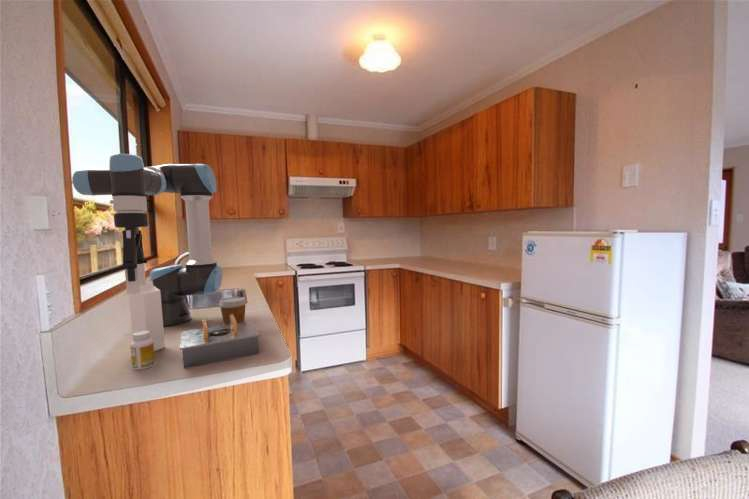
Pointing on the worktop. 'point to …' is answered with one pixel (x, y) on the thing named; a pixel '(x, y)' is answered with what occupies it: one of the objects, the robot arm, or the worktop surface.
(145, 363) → the supplement bottle
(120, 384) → the worktop surface
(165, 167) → the robot arm
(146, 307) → the milk
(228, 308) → the disposable coffee cup
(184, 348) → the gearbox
